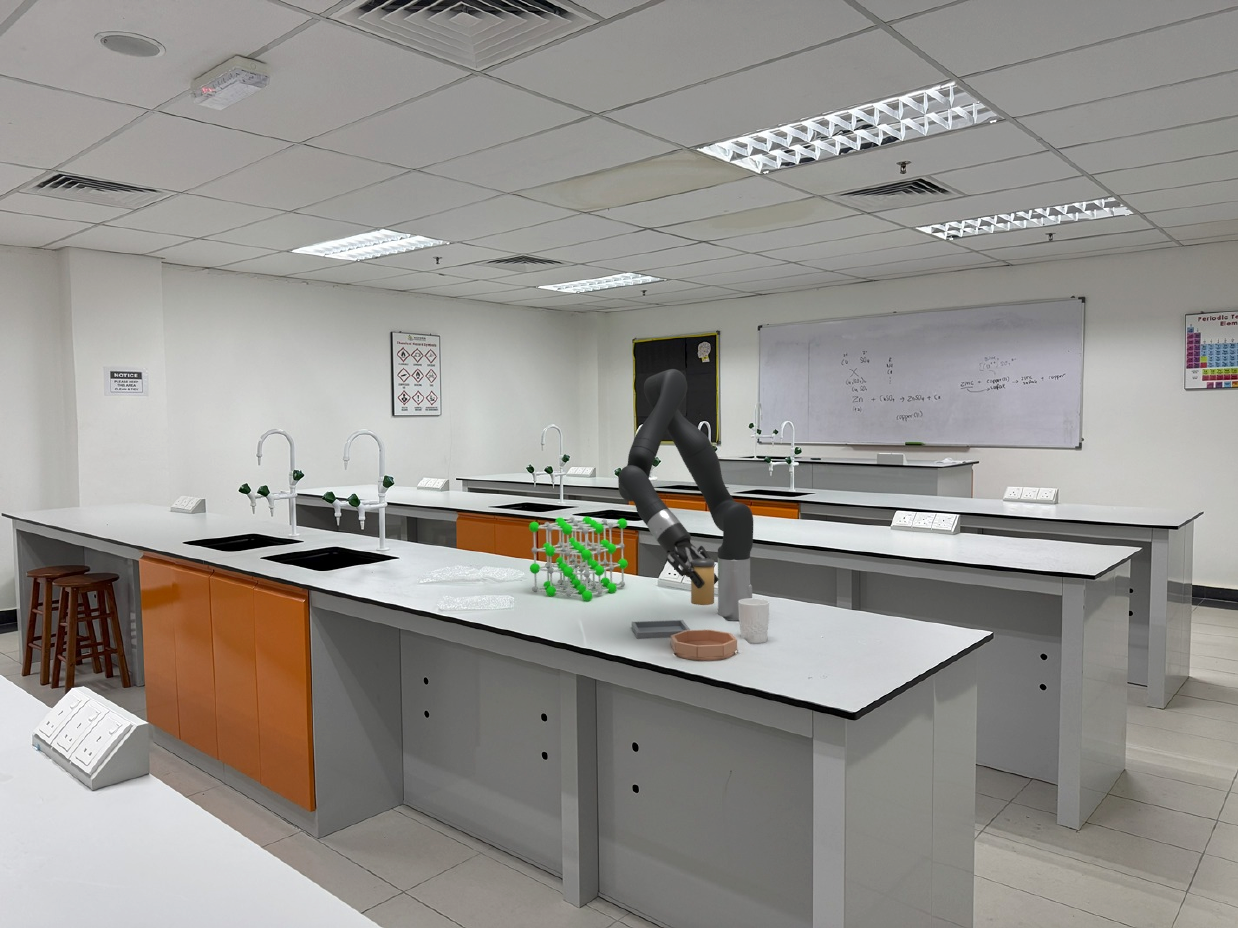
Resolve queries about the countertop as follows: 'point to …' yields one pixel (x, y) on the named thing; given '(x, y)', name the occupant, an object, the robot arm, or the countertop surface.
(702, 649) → the terracotta bowl
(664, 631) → the parts tray
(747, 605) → the white cup
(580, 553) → the molecular structure model
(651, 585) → the countertop surface
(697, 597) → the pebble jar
